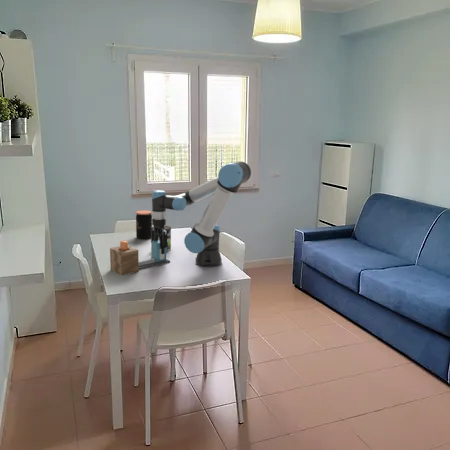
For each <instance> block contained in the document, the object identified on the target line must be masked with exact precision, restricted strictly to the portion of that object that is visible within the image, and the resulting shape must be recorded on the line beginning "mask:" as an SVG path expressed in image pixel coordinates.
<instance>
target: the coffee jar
mask: <svg viewBox="0 0 450 450" xmlns="http://www.w3.org/2000/svg"><path fill="white" fill-rule="evenodd" d="M152 219H153V218H152V210H145V209H143V210H137V211H136V212H135V220H136V221H135V227H136V228H135V229H136V230H135V231H136V232H135V233H136V235H135V236H136V238H137V239H139V240H151V228H150V227H153V225H152Z"/></svg>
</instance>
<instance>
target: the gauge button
mask: <svg viewBox="0 0 450 450" xmlns="http://www.w3.org/2000/svg"><path fill="white" fill-rule="evenodd" d="M119 244H120V250H121V251H125V250H128V246H129V241H128V240H120V241H119Z"/></svg>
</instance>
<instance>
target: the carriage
mask: <svg viewBox="0 0 450 450" xmlns="http://www.w3.org/2000/svg"><path fill="white" fill-rule="evenodd" d="M160 248H161V247H160V241H159V240H157V241H152V242H151V241H150V250H151V253H150V254H151V256H150V257H151V258H155V262H160V261H164V260H166V259H167V257H168V256H167V254H168V253H167V252H168V251H167V248H165V253H164V259H161V260H160ZM151 258H150V259H151Z"/></svg>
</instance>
